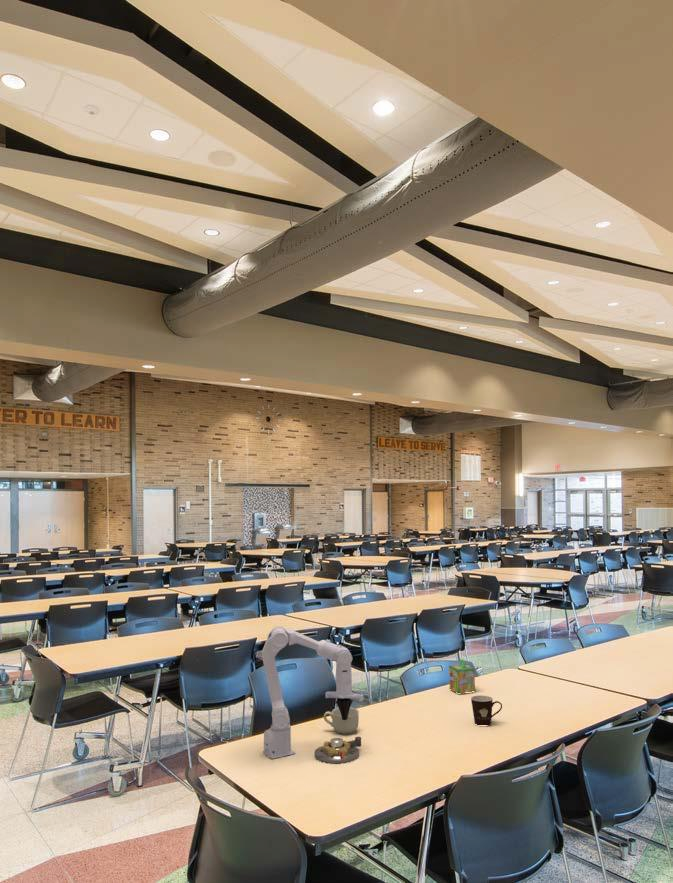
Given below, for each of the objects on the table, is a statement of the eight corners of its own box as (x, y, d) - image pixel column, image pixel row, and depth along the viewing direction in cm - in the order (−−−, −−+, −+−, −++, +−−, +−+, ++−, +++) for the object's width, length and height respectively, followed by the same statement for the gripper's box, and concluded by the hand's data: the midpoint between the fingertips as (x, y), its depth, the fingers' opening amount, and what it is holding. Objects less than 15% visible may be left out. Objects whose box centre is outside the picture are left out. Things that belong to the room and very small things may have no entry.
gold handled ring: (331, 758, 226) (331, 748, 226) (319, 750, 234) (319, 741, 234) (367, 749, 233) (367, 740, 233) (354, 742, 241) (354, 733, 241)
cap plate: (327, 767, 221) (327, 751, 222) (306, 752, 235) (306, 737, 235) (367, 757, 229) (367, 742, 229) (345, 744, 243) (344, 729, 243)
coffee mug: (469, 725, 260) (468, 700, 261) (475, 719, 267) (474, 694, 269) (498, 729, 255) (497, 703, 256) (503, 723, 262) (502, 697, 263)
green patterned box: (449, 690, 312) (448, 658, 313) (466, 688, 314) (465, 656, 316) (458, 695, 303) (457, 662, 304) (476, 693, 306) (474, 660, 307)
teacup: (362, 728, 260) (361, 707, 261) (355, 737, 250) (355, 715, 251) (328, 725, 264) (328, 705, 265) (321, 734, 253) (320, 713, 254)
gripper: (321, 682, 240) (322, 720, 239) (358, 685, 235) (359, 724, 233) (329, 677, 247) (330, 714, 245) (365, 680, 241) (366, 718, 240)
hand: (344, 719), depth 240 cm, fingers closed
